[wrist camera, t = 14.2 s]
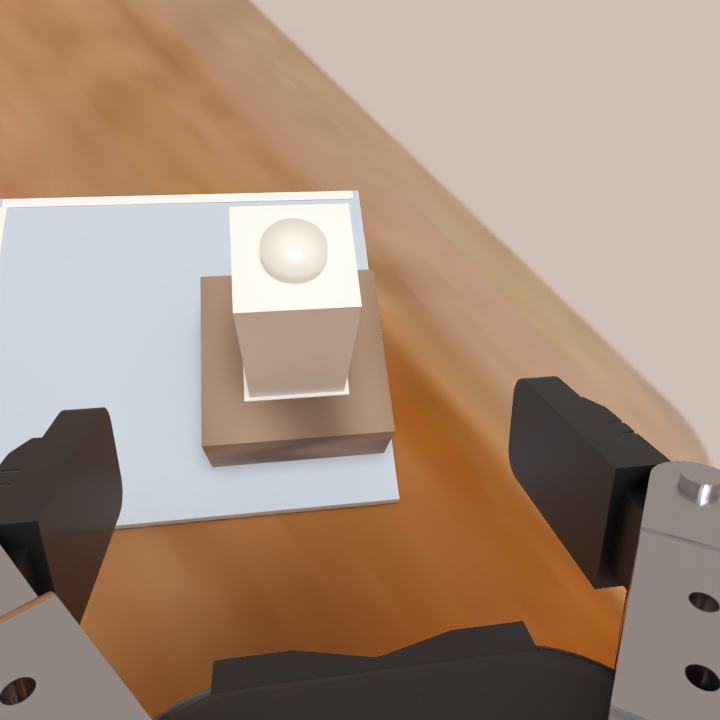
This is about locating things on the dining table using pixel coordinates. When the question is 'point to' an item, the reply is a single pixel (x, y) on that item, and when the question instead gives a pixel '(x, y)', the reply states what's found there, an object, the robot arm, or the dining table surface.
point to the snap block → (294, 296)
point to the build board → (179, 360)
